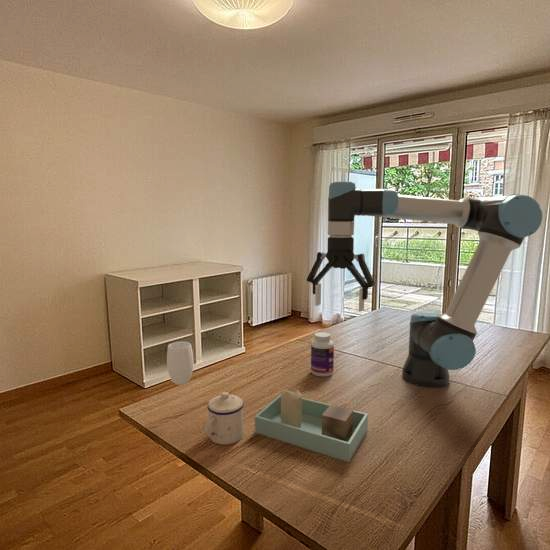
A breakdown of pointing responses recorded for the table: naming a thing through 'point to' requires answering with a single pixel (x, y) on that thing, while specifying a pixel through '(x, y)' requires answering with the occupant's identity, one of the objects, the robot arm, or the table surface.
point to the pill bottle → (322, 355)
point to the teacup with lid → (225, 419)
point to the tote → (310, 429)
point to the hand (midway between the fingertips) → (339, 307)
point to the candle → (291, 407)
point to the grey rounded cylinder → (180, 362)
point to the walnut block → (337, 423)
